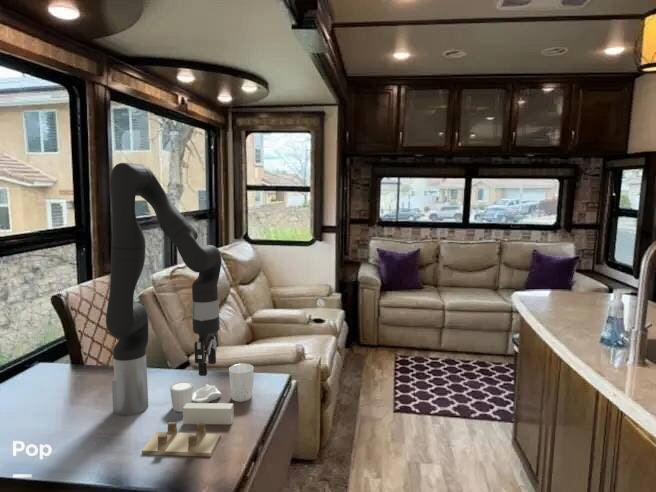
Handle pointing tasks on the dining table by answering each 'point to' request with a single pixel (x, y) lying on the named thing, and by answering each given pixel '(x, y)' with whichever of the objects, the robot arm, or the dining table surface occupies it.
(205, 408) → the white rectangular block
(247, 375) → the white cup
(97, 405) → the dining table surface
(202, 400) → the rose
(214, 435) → the rack
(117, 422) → the dining table surface
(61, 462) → the dining table surface
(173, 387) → the white short tapered cylinder
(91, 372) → the dining table surface
